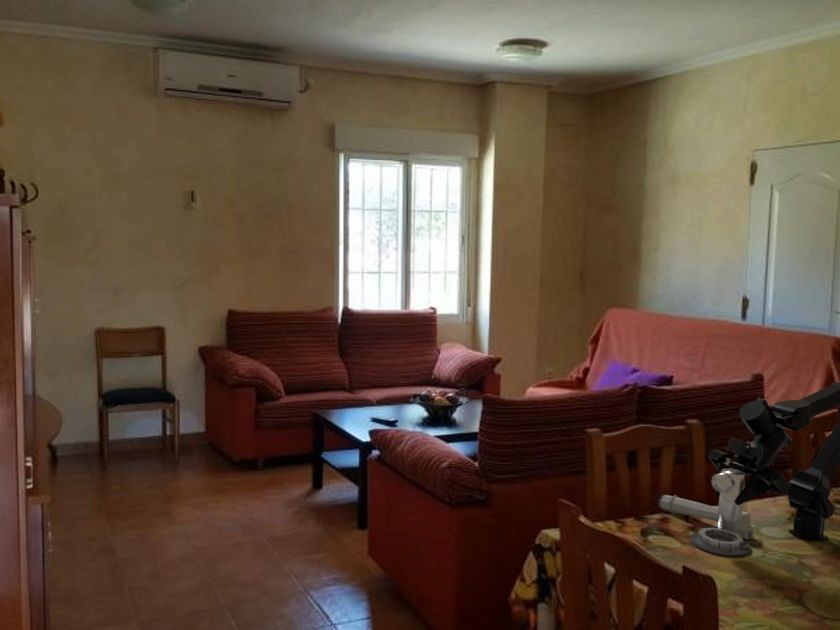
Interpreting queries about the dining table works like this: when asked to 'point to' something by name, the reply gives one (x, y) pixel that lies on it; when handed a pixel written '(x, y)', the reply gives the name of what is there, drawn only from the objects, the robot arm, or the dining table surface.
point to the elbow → (729, 498)
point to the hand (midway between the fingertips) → (726, 500)
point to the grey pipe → (702, 512)
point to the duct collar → (720, 542)
